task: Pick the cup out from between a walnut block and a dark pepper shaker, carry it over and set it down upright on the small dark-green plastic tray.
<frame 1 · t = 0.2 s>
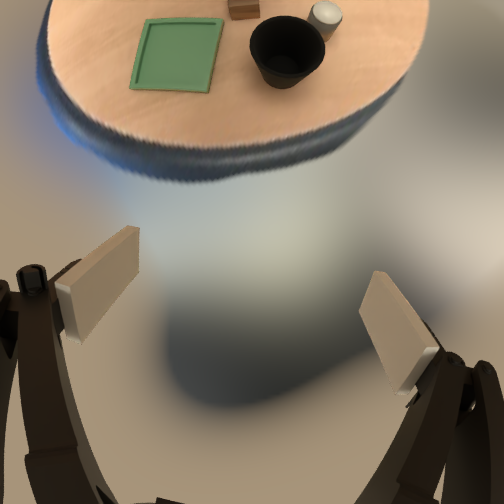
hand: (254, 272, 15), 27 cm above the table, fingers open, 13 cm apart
cup: (281, 71, 34), on the table
tray: (176, 54, 33), on the table
walnut block: (245, 9, 29), on the table
pepper shaker: (317, 31, 30), on the table
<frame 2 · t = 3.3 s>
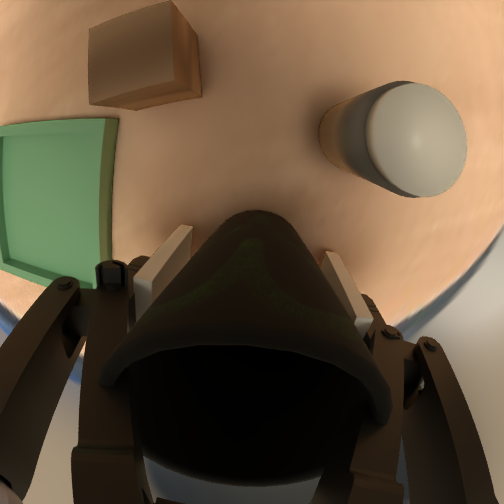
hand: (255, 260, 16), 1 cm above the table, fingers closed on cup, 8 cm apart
cup: (256, 254, 17), on the table, touching gripper
tray: (46, 203, 16), on the table
walnut block: (165, 71, 13), on the table
pepper shaker: (353, 136, 14), on the table
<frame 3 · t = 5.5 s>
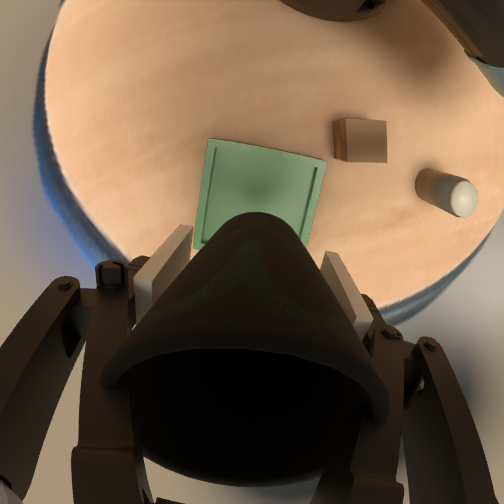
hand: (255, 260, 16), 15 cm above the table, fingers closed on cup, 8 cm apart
cup: (256, 255, 17), point 14 cm above the table, touching gripper
tray: (257, 202, 30), on the table
walnut block: (351, 140, 27), on the table
pepper shaker: (428, 184, 28), on the table
when the fingers open (4 cm above the table, at t = 8.0 s): cup drops 2 cm, resting on tray.
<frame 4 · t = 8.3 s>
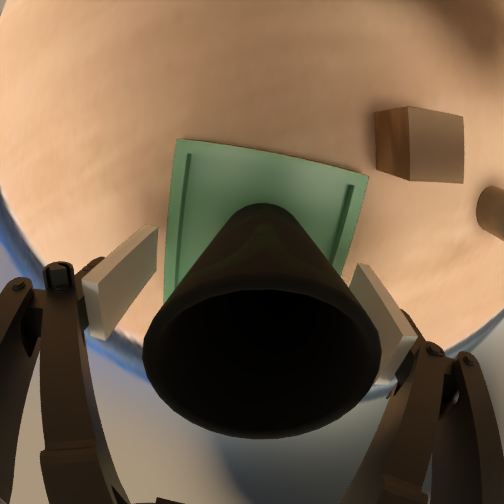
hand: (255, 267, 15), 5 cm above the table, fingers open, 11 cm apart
cup: (262, 242, 19), resting on tray
tray: (257, 238, 20), on the table
walnut block: (400, 142, 17), on the table
pepper shaker: (490, 208, 18), on the table
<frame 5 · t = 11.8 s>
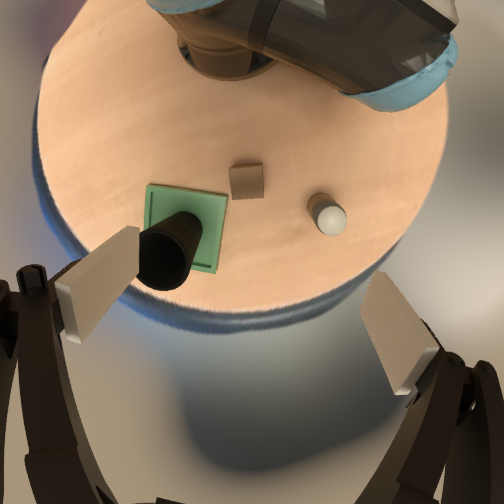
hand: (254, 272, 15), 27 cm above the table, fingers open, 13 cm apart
cup: (185, 228, 42), resting on tray
tray: (183, 227, 42), on the table
walnut block: (248, 177, 39), on the table
pepper shaker: (320, 206, 40), on the table
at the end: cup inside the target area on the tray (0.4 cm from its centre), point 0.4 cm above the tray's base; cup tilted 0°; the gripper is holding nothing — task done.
